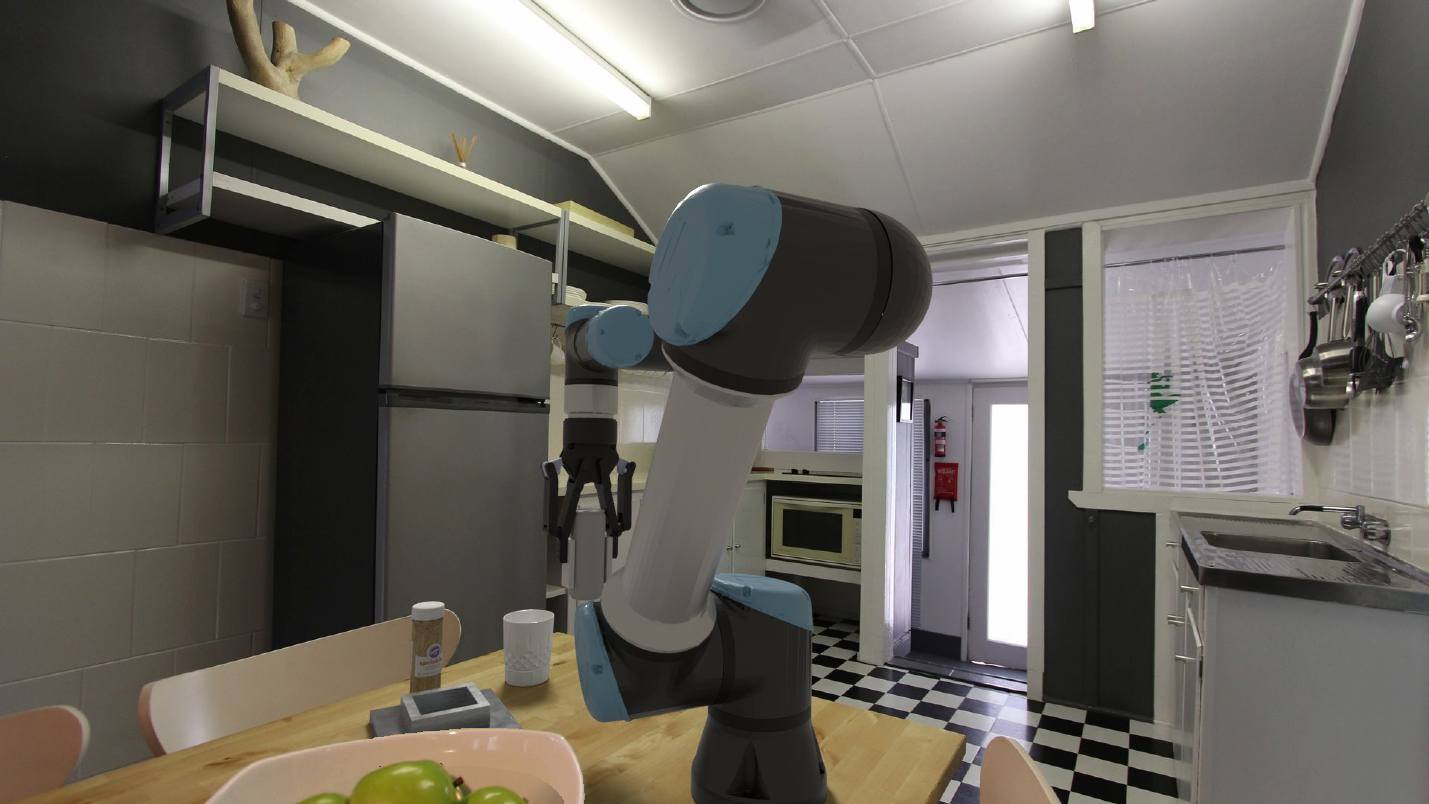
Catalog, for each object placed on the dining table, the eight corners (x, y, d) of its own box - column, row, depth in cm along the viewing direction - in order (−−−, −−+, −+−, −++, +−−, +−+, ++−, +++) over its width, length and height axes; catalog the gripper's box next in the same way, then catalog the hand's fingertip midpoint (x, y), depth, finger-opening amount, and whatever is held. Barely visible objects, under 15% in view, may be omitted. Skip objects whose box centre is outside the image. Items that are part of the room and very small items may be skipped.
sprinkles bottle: (425, 703, 97) (428, 609, 98) (401, 698, 99) (404, 606, 99) (448, 692, 101) (451, 602, 102) (424, 687, 103) (428, 599, 104)
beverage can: (561, 598, 92) (563, 510, 93) (583, 591, 96) (585, 507, 97) (589, 602, 90) (591, 512, 90) (611, 595, 94) (612, 509, 95)
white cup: (537, 667, 113) (539, 607, 113) (561, 680, 107) (563, 616, 107) (492, 678, 107) (494, 614, 108) (515, 692, 102) (517, 625, 102)
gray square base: (522, 740, 86) (523, 708, 86) (383, 773, 77) (385, 737, 77) (490, 698, 99) (491, 670, 99) (369, 721, 91) (370, 691, 91)
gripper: (636, 419, 102) (633, 573, 101) (519, 415, 93) (514, 586, 91) (659, 418, 96) (656, 583, 95) (536, 414, 86) (531, 597, 85)
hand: (586, 584), depth 93 cm, fingers closed on beverage can, 5 cm apart
